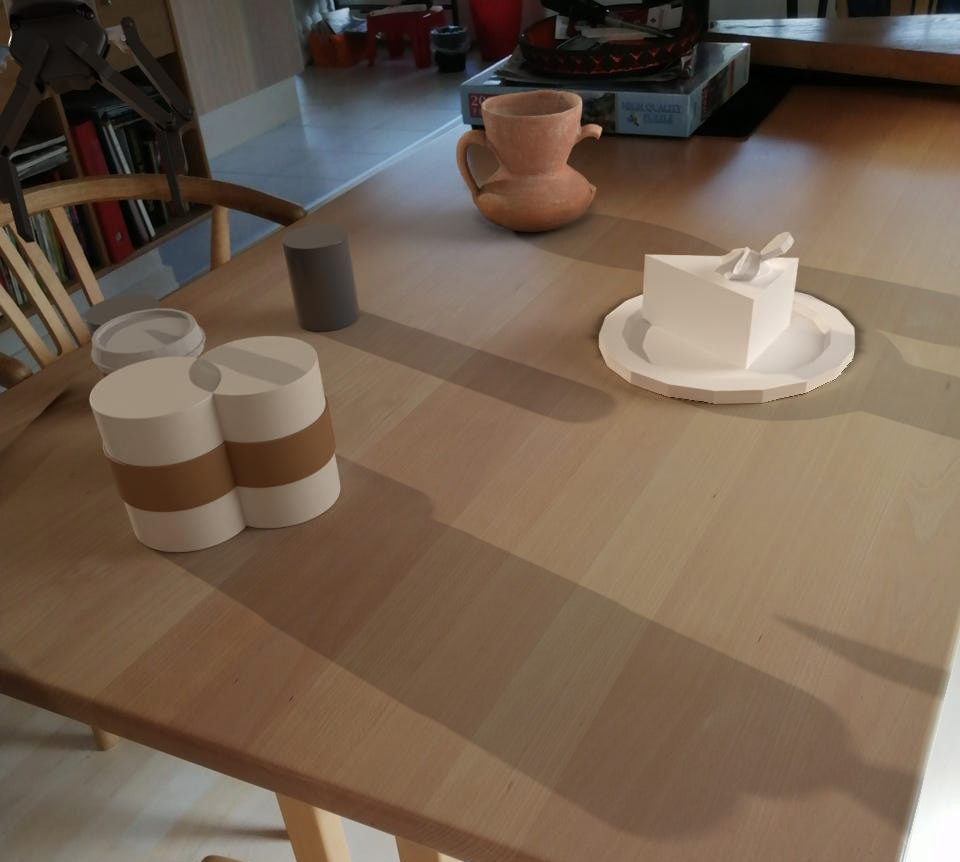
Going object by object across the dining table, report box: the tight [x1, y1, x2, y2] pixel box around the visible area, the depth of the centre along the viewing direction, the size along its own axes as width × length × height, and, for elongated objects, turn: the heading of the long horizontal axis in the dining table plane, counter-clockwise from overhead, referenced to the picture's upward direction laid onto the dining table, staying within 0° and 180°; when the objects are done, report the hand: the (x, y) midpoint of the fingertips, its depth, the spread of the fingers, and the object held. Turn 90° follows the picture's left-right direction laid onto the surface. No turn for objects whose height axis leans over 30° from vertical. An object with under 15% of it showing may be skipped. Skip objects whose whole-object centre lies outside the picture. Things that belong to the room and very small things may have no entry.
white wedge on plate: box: [598, 231, 856, 405], centre depth 100 cm, size 25×25×11 cm
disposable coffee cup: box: [90, 307, 206, 377], centre depth 90 cm, size 10×10×12 cm
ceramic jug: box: [455, 89, 603, 233], centre depth 129 cm, size 18×14×14 cm
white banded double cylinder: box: [89, 335, 342, 553], centre depth 83 cm, size 17×14×12 cm
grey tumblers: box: [83, 224, 361, 378], centre depth 106 cm, size 7×30×9 cm, turn 134°
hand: (104, 224), depth 93 cm, fingers open, 13 cm apart
